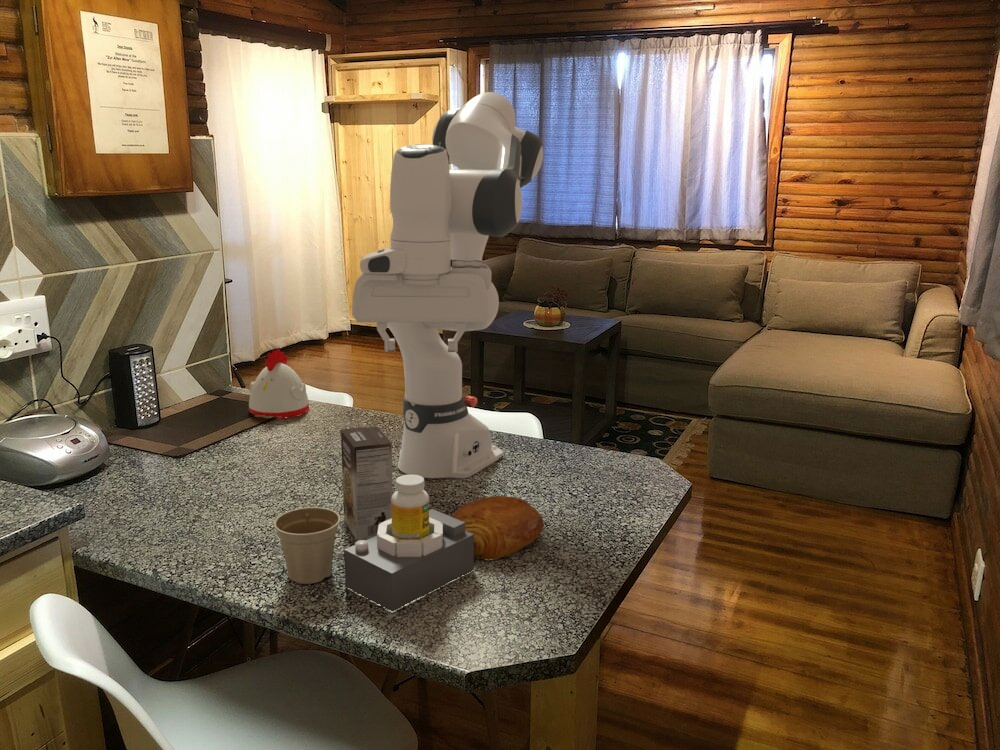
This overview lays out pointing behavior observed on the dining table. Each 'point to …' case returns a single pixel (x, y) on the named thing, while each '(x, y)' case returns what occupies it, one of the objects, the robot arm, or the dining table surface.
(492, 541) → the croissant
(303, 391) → the kitchen timer
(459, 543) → the camera body
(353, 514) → the coffee box
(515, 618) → the dining table surface
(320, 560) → the flower pot
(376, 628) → the dining table surface
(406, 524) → the supplement bottle
